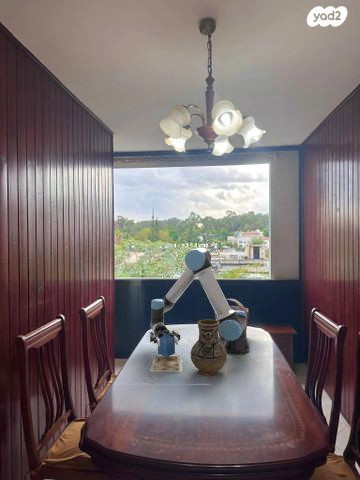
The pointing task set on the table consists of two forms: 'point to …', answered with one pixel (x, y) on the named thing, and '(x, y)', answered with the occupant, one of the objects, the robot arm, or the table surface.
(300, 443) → the table surface
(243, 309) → the bucket
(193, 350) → the decorative pitcher
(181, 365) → the felt mat
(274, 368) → the table surface
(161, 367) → the oak box
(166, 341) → the perfume bottle
